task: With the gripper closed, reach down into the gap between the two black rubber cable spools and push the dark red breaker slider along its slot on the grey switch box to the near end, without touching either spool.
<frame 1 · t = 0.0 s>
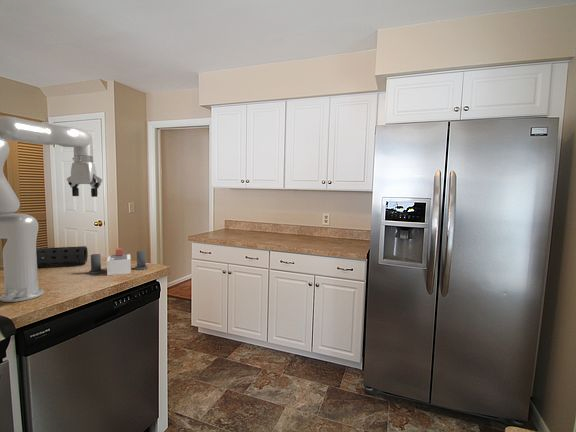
hand: (85, 196, 145), 37 cm above the counter, tool pointing down, fingers open, 9 cm apart
spool right: (141, 268, 159), on the counter
spool left: (96, 272, 149), on the counter
slider: (119, 251, 156), point 9 cm above the counter, slide at 0.0 cm
switch box: (119, 271, 153), on the counter
muzzle brake: (54, 266, 160), on the counter
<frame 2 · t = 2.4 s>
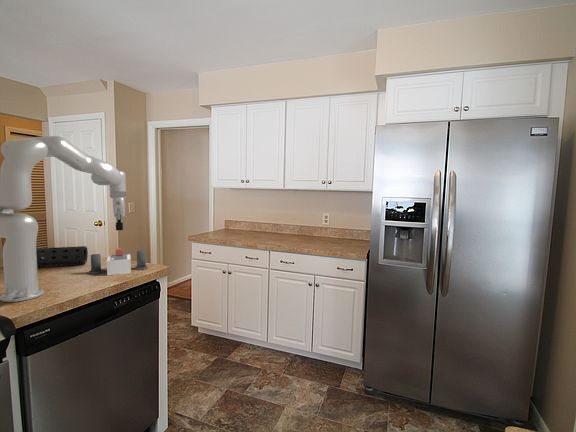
hand: (119, 230, 160), 20 cm above the counter, tool pointing down, fingers closed
nothing on the counter moved.
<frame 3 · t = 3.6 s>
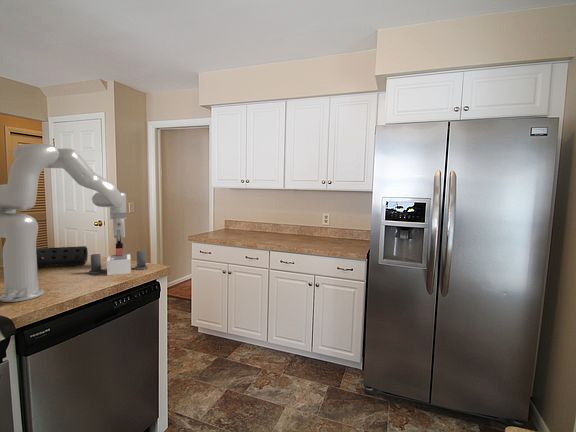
hand: (119, 250, 161), 9 cm above the counter, tool pointing down, fingers closed
nothing on the counter moved.
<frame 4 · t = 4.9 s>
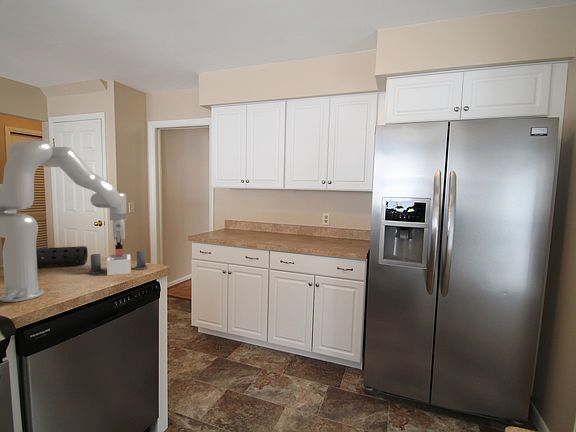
hand: (119, 252, 157), 8 cm above the counter, tool pointing down, fingers closed
slider: (119, 252, 154), point 9 cm above the counter, slide at 1.5 cm, touching gripper
everything else where it was.
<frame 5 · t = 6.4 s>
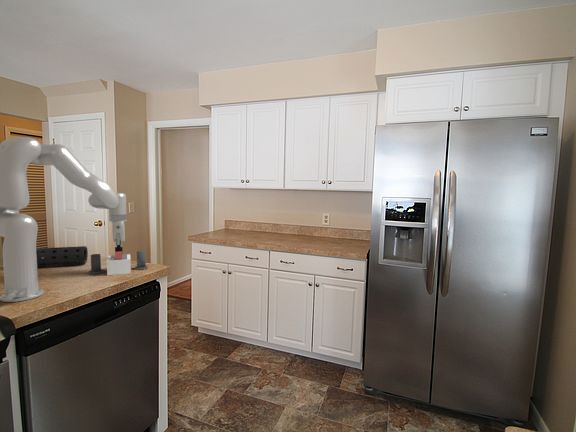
hand: (118, 254, 151), 9 cm above the counter, tool pointing down, fingers closed
slider: (118, 255, 148), point 9 cm above the counter, slide at 8.0 cm, touching gripper
everything else where it was.
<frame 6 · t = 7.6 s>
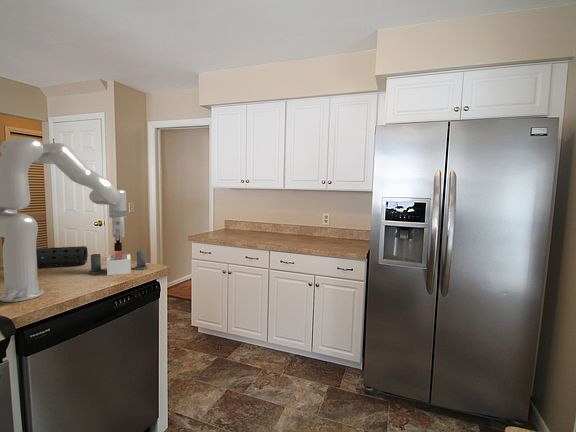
hand: (118, 250, 153), 10 cm above the counter, tool pointing down, fingers closed
slider: (118, 255, 148), point 9 cm above the counter, slide at 8.1 cm
everything else where it was.
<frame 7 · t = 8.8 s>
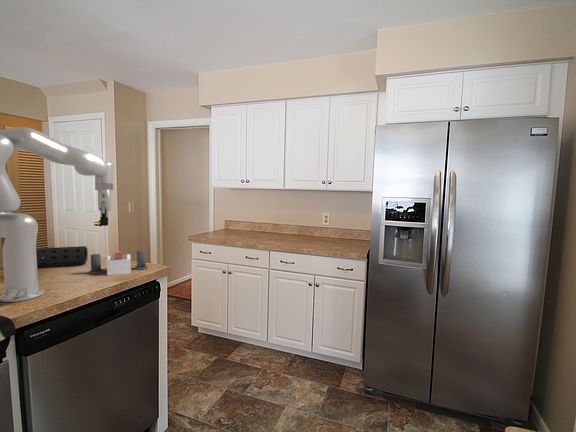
hand: (104, 225, 148), 23 cm above the counter, tool pointing down, fingers closed
nothing on the counter moved.
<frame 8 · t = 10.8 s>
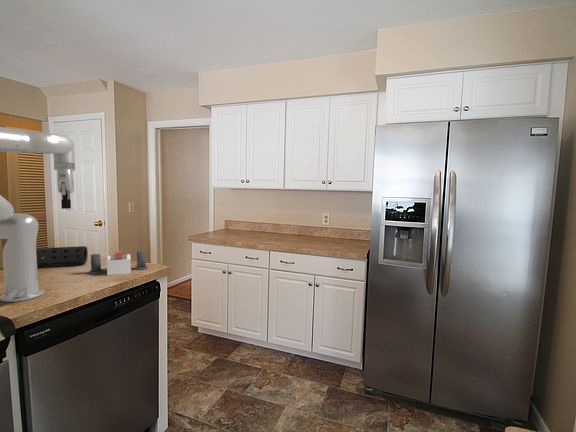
hand: (66, 208, 137), 32 cm above the counter, tool pointing down, fingers closed
nothing on the counter moved.
at the end: slider slide at 8.1 cm; spool left moved 0.0 cm from its start; spool right moved 0.0 cm from its start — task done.
